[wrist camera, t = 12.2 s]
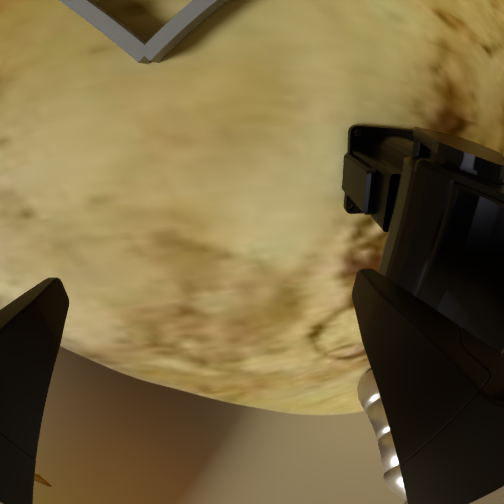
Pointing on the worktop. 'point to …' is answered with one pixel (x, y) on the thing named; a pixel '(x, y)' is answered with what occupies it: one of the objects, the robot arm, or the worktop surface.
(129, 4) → the worktop surface
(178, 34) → the grey u-shaped bar
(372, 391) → the plastic bottle
